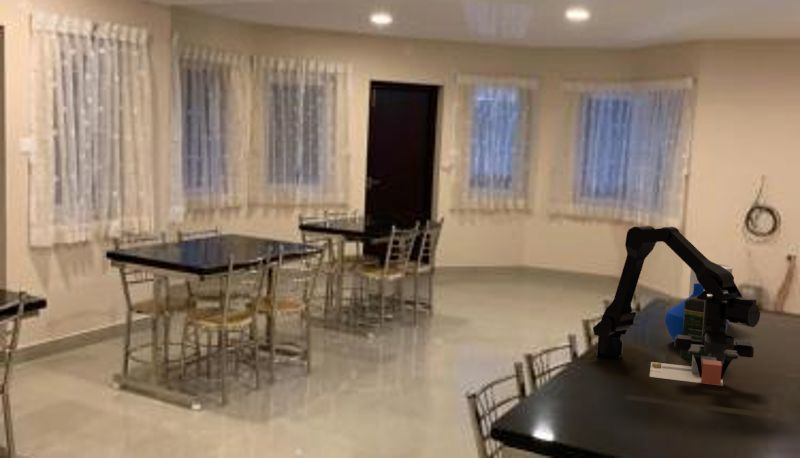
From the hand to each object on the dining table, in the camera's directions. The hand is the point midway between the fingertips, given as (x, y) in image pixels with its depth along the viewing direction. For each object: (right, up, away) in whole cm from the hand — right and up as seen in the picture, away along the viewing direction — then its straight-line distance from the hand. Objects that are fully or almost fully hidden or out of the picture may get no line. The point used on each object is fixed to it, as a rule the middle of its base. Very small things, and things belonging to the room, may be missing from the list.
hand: (710, 378), depth 204 cm
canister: (+28, +6, +75) cm, 80 cm away
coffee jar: (+5, +1, +25) cm, 25 cm away
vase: (+11, +2, +42) cm, 43 cm away
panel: (-4, -1, +7) cm, 8 cm away
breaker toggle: (+1, 0, +9) cm, 9 cm away
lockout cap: (0, -1, 0) cm, 1 cm away
